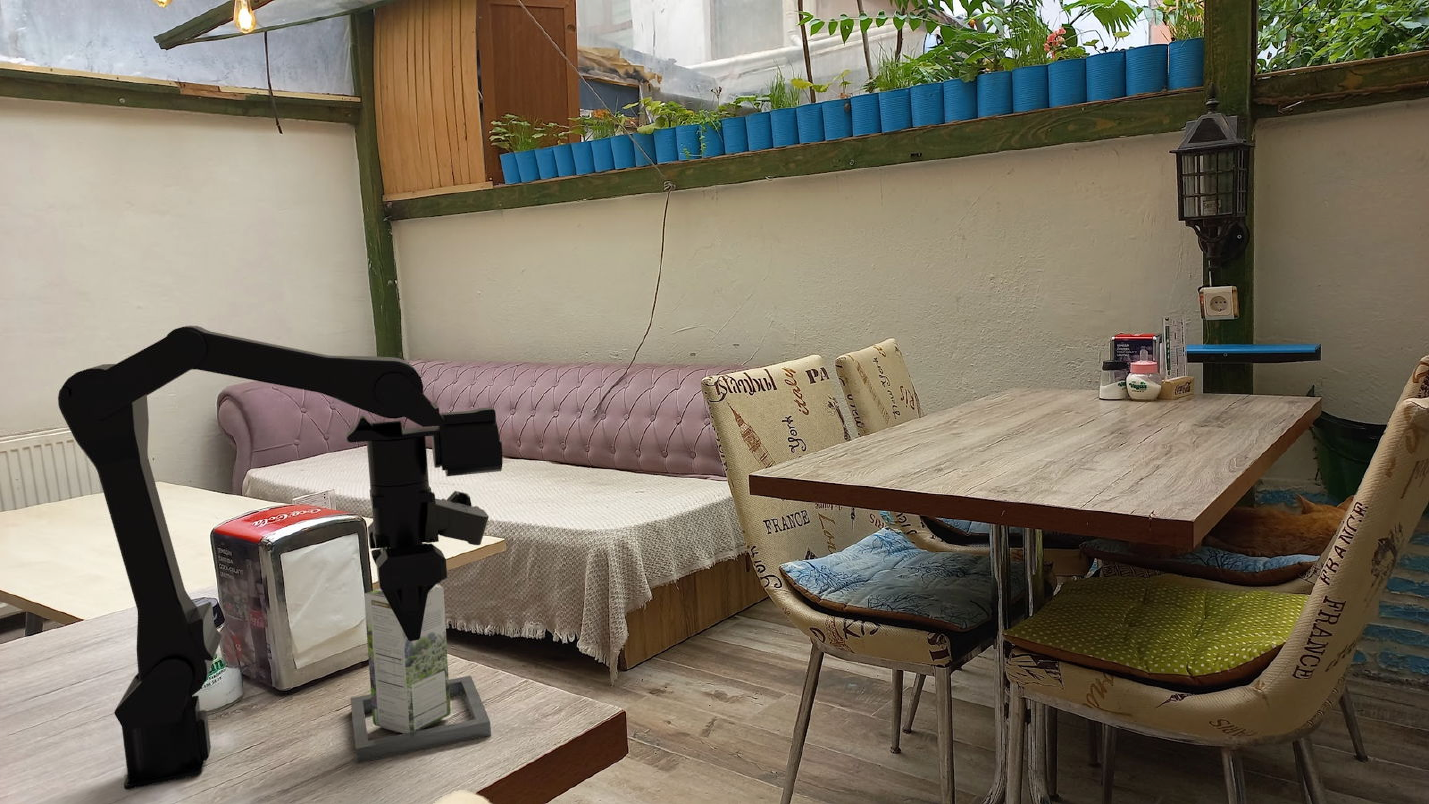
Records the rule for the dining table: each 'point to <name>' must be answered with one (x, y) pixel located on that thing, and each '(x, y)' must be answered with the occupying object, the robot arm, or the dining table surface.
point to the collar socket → (423, 737)
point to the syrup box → (407, 665)
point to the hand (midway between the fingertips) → (410, 628)
